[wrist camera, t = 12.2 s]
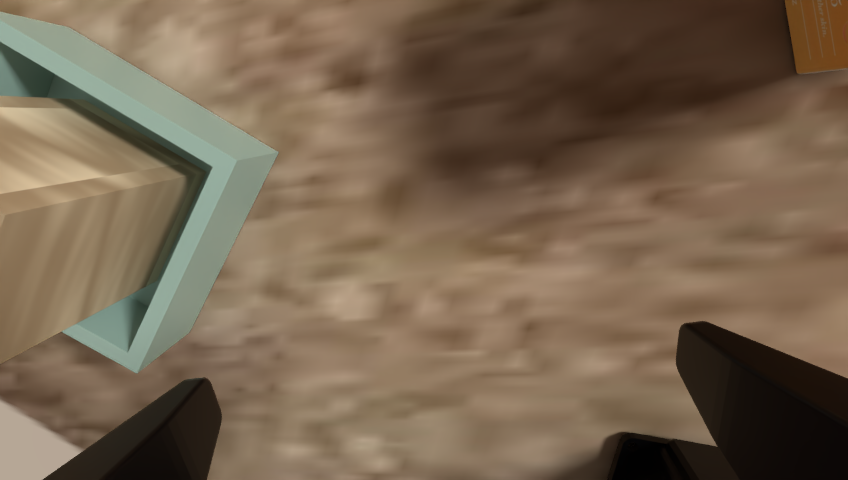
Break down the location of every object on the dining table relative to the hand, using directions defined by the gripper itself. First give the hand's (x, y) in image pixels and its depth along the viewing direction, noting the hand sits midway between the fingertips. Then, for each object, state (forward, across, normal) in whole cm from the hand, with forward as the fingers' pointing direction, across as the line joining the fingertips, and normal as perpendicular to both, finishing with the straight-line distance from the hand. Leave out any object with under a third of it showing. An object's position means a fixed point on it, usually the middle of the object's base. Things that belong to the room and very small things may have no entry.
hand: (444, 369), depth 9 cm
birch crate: (+14, +14, -1) cm, 19 cm away
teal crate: (+14, +14, -1) cm, 20 cm away
